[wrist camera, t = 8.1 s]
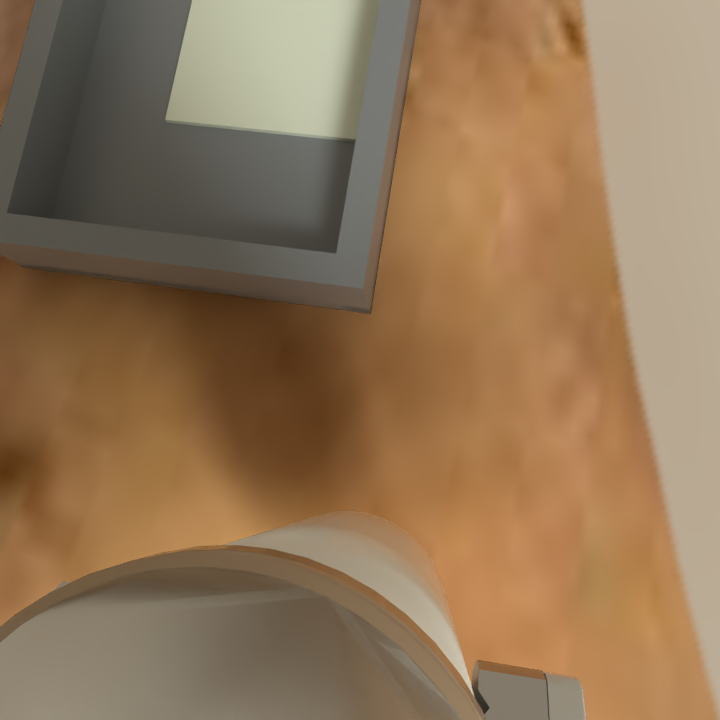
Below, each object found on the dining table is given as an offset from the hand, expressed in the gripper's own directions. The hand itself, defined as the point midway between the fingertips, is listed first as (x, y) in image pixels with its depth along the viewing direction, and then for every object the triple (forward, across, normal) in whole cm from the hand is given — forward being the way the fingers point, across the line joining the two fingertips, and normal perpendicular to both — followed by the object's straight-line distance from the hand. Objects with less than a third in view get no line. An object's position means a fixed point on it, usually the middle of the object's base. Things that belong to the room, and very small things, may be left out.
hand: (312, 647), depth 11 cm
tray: (+20, +8, -4) cm, 22 cm away
